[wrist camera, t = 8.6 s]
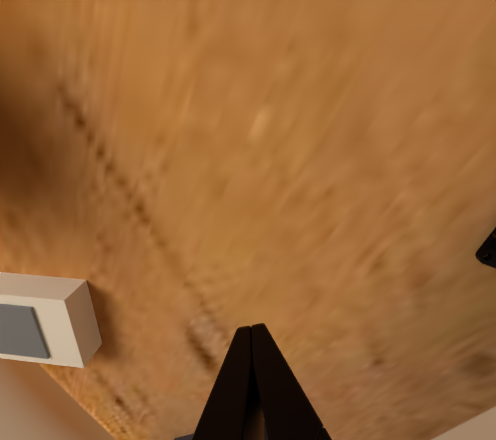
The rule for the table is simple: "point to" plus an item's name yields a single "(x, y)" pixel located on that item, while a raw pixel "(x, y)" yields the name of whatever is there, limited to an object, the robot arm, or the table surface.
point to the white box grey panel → (47, 320)
